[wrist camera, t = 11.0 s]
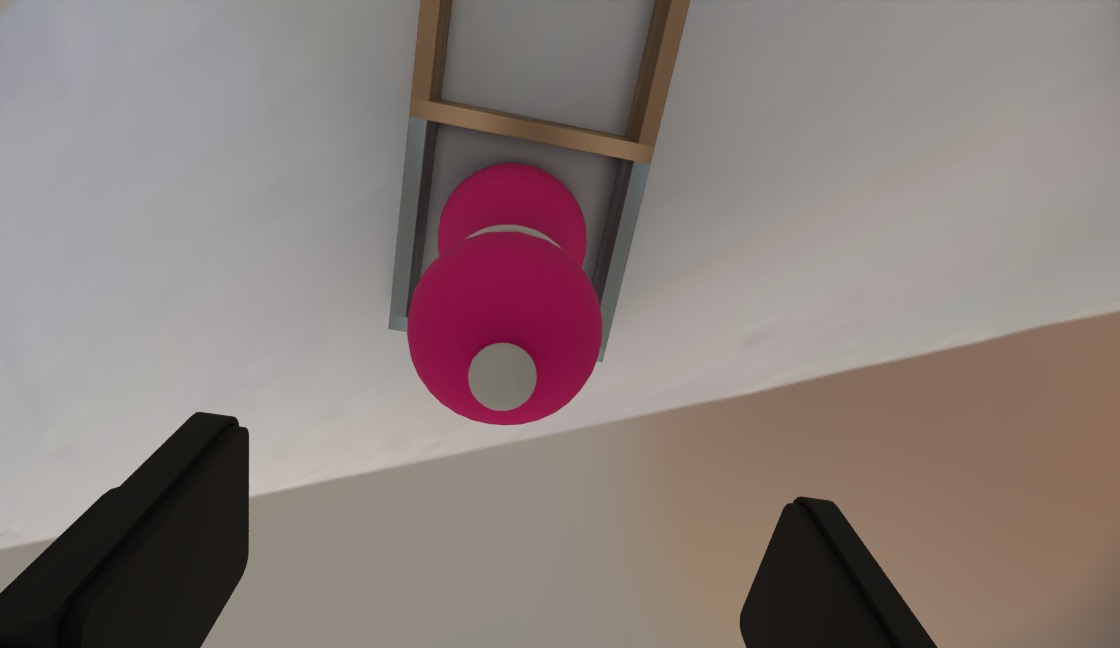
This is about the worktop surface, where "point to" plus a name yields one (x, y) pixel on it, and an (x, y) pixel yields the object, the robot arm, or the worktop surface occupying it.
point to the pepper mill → (507, 300)
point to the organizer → (629, 149)
